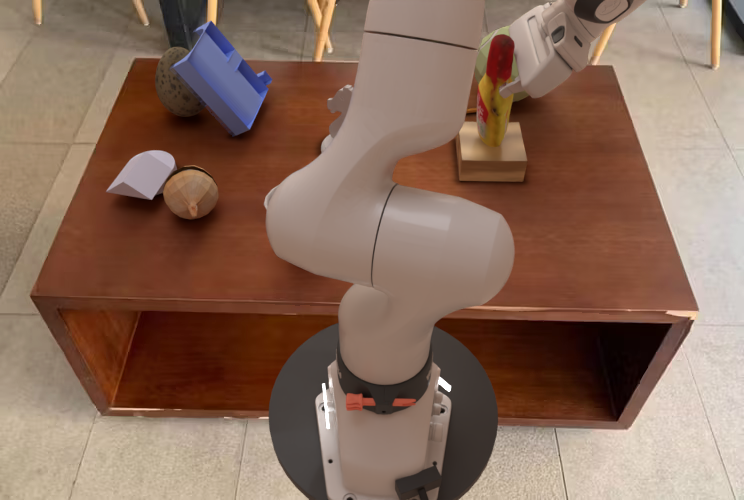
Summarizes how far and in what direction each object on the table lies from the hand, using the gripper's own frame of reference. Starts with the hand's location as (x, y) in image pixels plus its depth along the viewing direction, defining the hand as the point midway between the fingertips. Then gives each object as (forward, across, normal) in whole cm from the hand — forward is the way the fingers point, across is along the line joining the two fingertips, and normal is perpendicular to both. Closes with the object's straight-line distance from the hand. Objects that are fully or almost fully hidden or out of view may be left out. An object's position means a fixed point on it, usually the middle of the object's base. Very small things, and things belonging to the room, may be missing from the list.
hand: (498, 78), depth 118 cm
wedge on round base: (+57, +15, -35) cm, 69 cm away
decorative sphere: (-4, -22, +8) cm, 24 cm away
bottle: (+8, 0, +9) cm, 12 cm away
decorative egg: (+56, -15, -30) cm, 65 cm away
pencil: (+9, -18, +16) cm, 26 cm away
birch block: (+13, 0, +14) cm, 19 cm away
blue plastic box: (+40, -14, -30) cm, 52 cm away
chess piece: (+32, -3, -6) cm, 33 cm away
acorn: (+50, +9, -27) cm, 58 cm away
